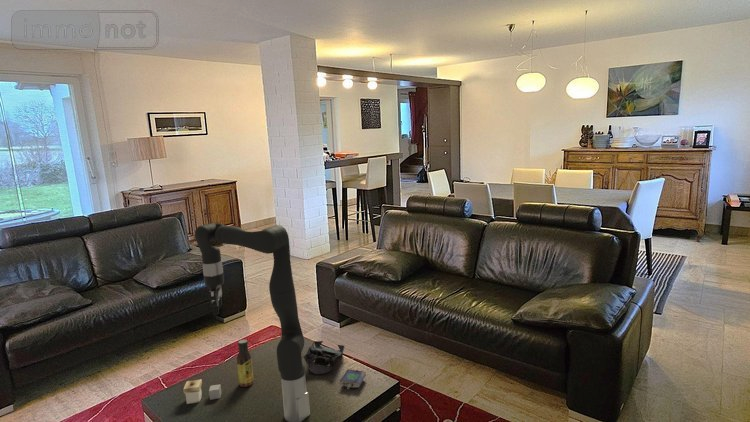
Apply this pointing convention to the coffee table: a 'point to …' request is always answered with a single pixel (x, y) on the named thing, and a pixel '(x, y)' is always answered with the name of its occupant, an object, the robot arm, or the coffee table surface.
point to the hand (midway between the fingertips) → (217, 310)
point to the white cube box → (193, 397)
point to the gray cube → (215, 391)
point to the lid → (192, 386)
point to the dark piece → (321, 357)
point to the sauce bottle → (244, 365)
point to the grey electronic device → (352, 378)
